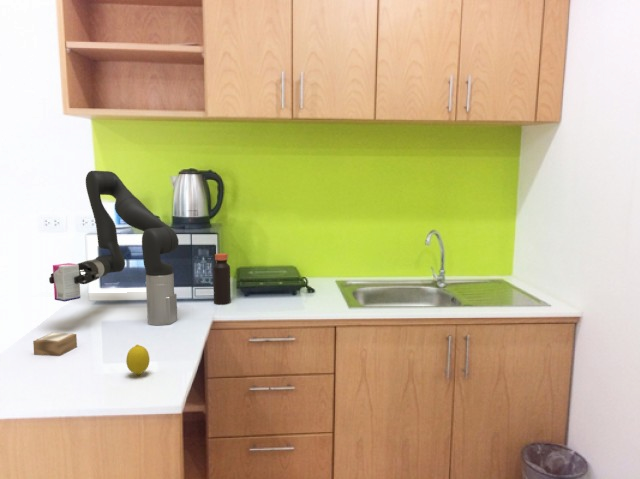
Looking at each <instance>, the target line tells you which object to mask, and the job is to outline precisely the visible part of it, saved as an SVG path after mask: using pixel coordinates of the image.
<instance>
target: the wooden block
mask: <svg viewBox="0 0 640 479" xmlns="http://www.w3.org/2000/svg"><path fill="white" fill-rule="evenodd" d="M77 342H78V338H77V333H68V332H67V333H65V332H61V333H60V332H51V333H48V334H46V335H44V336H42V337H40V338H37V339H35V340H33V342H32V344H33V354H34V355H35V356H51V357H52V356H53V357H61V356H63V355H64V354H66V353H68V352H70V351H73V349H76V348H78V343H77Z"/></svg>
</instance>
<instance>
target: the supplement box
mask: <svg viewBox="0 0 640 479" xmlns="http://www.w3.org/2000/svg"><path fill="white" fill-rule="evenodd" d="M52 273H53V278H54V283H53V290H54V291H53V292H54V294H53V295H54V300H55V301H60V302H65V303H66V302H70V301H75V300H78V299H81V286H80V285H81V284H80V283H78V284H75V283H74V277H76V276H79V265H78V263H70V262H67V263H60V264H53V265H52Z"/></svg>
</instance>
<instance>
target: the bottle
mask: <svg viewBox="0 0 640 479" xmlns="http://www.w3.org/2000/svg"><path fill="white" fill-rule="evenodd" d="M228 257H229V256H228V253H225V252H223V253H216V254H214V260H215V264H214V265H213V266H212V276H213V277H212V281H213V282H212V283H213V285H212V286H213V303H214V305H228V304H230V303H231V301H232V299H231V296H232V293H231V266H230V265H229V264H228Z"/></svg>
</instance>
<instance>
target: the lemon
mask: <svg viewBox="0 0 640 479" xmlns="http://www.w3.org/2000/svg"><path fill="white" fill-rule="evenodd" d="M149 364H150V354H149V351H148V350H147V348H146V347H145V346H142V345H140V344H135V345H134V346H132V347H131V348H130V349H129V350H128V352H127V354H126V366H127V368H128V370H129V371H130V372H131V373H133V374H136V376H140V375H141V374H142V373H144V372H145V371H146V370H147V369H148V367H149Z"/></svg>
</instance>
